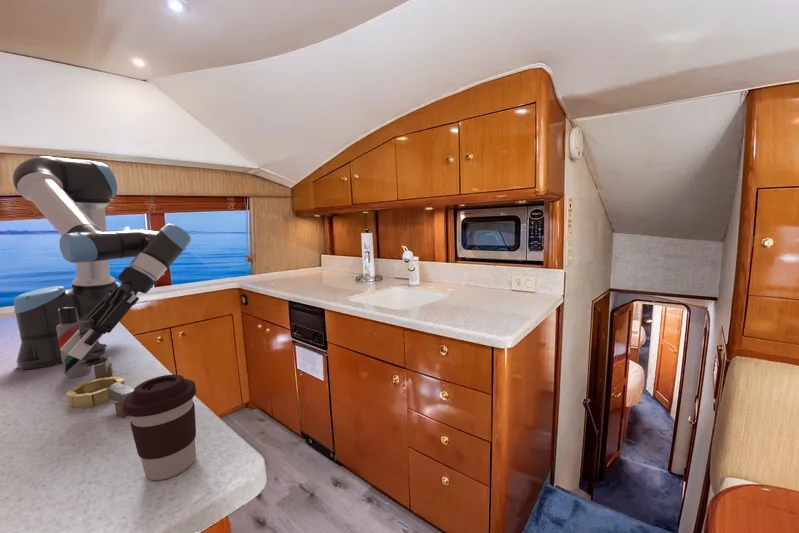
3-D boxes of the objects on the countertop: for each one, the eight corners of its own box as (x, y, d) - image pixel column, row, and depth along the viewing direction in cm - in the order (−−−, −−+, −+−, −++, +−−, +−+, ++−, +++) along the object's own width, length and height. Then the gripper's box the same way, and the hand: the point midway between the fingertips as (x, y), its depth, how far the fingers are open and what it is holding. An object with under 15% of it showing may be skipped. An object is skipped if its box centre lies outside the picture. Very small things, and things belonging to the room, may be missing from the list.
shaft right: (107, 410, 79) (103, 388, 78) (126, 402, 82) (122, 382, 81) (123, 419, 75) (120, 396, 74) (142, 410, 78) (139, 389, 77)
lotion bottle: (60, 377, 99) (48, 308, 96) (85, 368, 104) (73, 304, 101) (72, 379, 96) (59, 309, 94) (96, 371, 102) (84, 304, 99)
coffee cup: (217, 452, 62) (207, 373, 60) (164, 494, 53) (150, 401, 51) (177, 443, 65) (166, 367, 63) (120, 481, 56) (105, 393, 54)
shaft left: (111, 381, 94) (108, 363, 93) (93, 385, 92) (90, 366, 91) (113, 371, 101) (110, 354, 100) (97, 375, 99) (94, 358, 98)
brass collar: (65, 401, 84) (62, 389, 83) (115, 384, 92) (114, 373, 92) (77, 412, 78) (75, 400, 78) (130, 393, 86) (128, 382, 86)
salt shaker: (89, 368, 80) (81, 318, 79) (70, 367, 82) (60, 317, 80) (115, 358, 86) (107, 311, 84) (96, 357, 87) (88, 311, 86)
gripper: (170, 284, 89) (100, 369, 78) (141, 280, 99) (75, 354, 88) (143, 266, 84) (64, 354, 73) (115, 264, 94) (42, 341, 83)
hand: (70, 354), depth 80 cm, fingers closed on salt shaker, 5 cm apart
